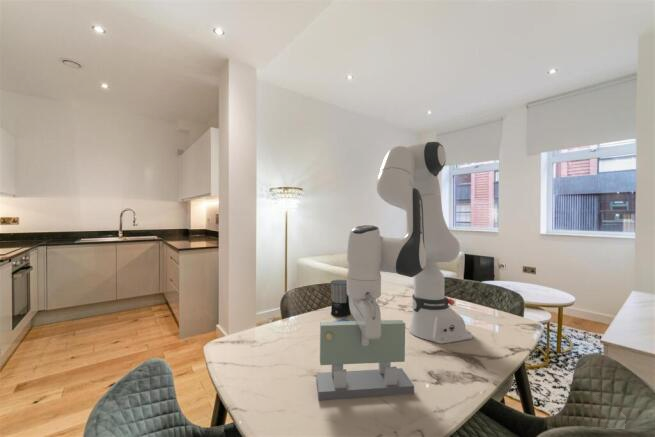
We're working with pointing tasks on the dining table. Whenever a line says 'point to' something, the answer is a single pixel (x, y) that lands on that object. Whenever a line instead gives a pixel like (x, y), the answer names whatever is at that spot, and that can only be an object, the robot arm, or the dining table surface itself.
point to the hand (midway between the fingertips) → (362, 341)
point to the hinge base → (363, 382)
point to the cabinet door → (346, 348)
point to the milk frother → (339, 299)
